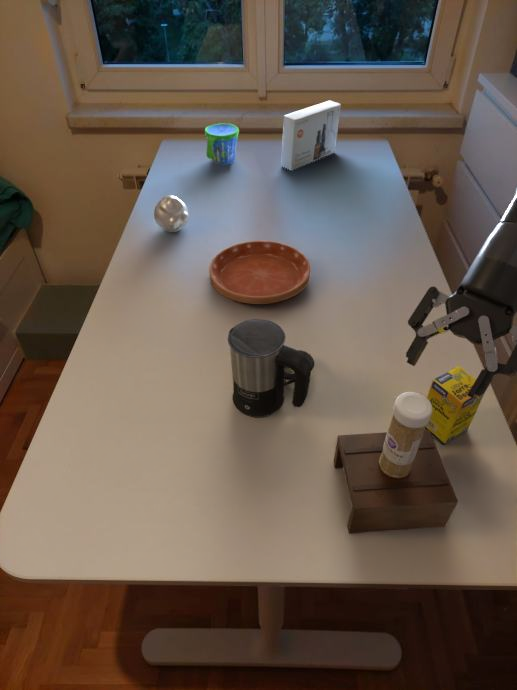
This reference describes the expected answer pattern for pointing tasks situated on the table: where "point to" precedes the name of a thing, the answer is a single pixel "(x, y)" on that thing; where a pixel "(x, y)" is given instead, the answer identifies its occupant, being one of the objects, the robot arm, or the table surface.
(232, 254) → the saucer
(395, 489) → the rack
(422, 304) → the robot arm
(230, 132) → the snack cup
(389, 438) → the sprinkles bottle
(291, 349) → the milk frother
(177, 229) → the shiny silver ball
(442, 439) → the supplement box
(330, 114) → the skincare box
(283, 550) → the table surface
